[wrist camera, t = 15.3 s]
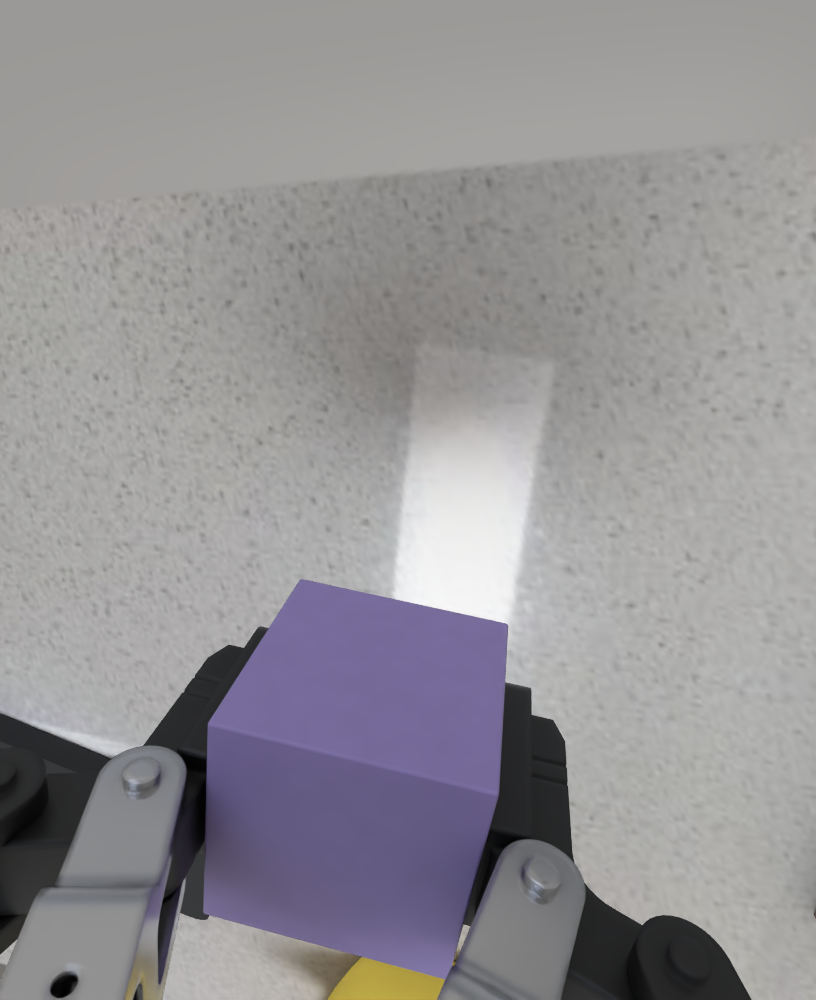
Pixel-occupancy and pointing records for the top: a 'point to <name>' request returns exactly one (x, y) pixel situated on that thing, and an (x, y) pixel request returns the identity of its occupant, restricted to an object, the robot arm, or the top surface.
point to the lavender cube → (357, 776)
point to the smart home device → (78, 760)
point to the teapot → (385, 983)
